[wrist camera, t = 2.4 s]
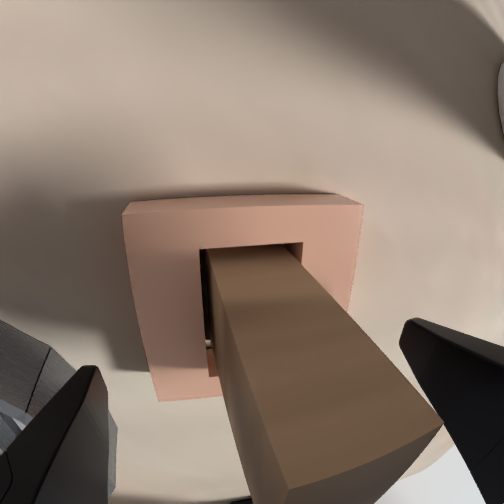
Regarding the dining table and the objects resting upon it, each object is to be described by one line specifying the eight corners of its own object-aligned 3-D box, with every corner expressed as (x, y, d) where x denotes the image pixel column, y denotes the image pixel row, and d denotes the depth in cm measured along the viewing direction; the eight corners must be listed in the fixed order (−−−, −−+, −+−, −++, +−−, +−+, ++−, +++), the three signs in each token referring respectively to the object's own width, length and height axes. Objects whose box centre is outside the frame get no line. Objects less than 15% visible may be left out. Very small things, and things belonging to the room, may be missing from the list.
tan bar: (270, 332, 12) (364, 511, 4) (210, 340, 11) (267, 543, 4) (275, 237, 10) (444, 422, 3) (205, 242, 10) (288, 489, 2)
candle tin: (137, 463, 13) (140, 512, 10) (-2, 445, 11) (-11, 483, 8) (71, 315, 9) (43, 383, 6) (-84, 312, 7) (-116, 350, 4)
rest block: (317, 351, 13) (332, 374, 11) (158, 373, 11) (158, 401, 10) (338, 194, 10) (364, 205, 9) (130, 201, 9) (121, 214, 7)
